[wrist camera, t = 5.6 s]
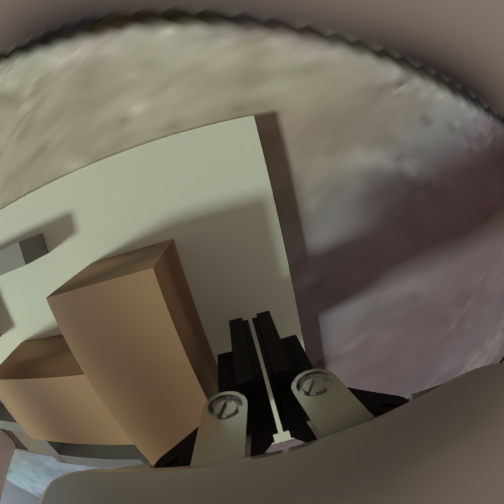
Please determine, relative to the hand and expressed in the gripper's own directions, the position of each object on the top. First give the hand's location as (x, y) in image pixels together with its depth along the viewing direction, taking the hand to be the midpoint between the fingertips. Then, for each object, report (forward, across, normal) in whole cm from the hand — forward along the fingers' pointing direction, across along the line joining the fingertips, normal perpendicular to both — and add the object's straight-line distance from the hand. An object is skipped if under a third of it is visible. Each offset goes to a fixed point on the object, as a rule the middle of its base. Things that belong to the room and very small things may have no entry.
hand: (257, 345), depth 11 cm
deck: (+3, +10, 0) cm, 11 cm away
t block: (+1, +8, 0) cm, 8 cm away
